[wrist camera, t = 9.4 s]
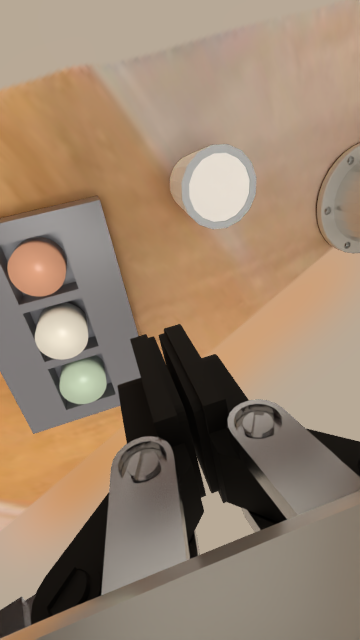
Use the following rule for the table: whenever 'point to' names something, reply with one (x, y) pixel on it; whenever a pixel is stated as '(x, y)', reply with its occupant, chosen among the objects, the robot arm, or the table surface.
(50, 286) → the terracotta button
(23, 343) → the console
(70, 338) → the cream button
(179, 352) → the robot arm
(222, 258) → the table surface
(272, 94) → the table surface
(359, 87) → the table surface
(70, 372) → the sage button
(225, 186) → the light grey cup
